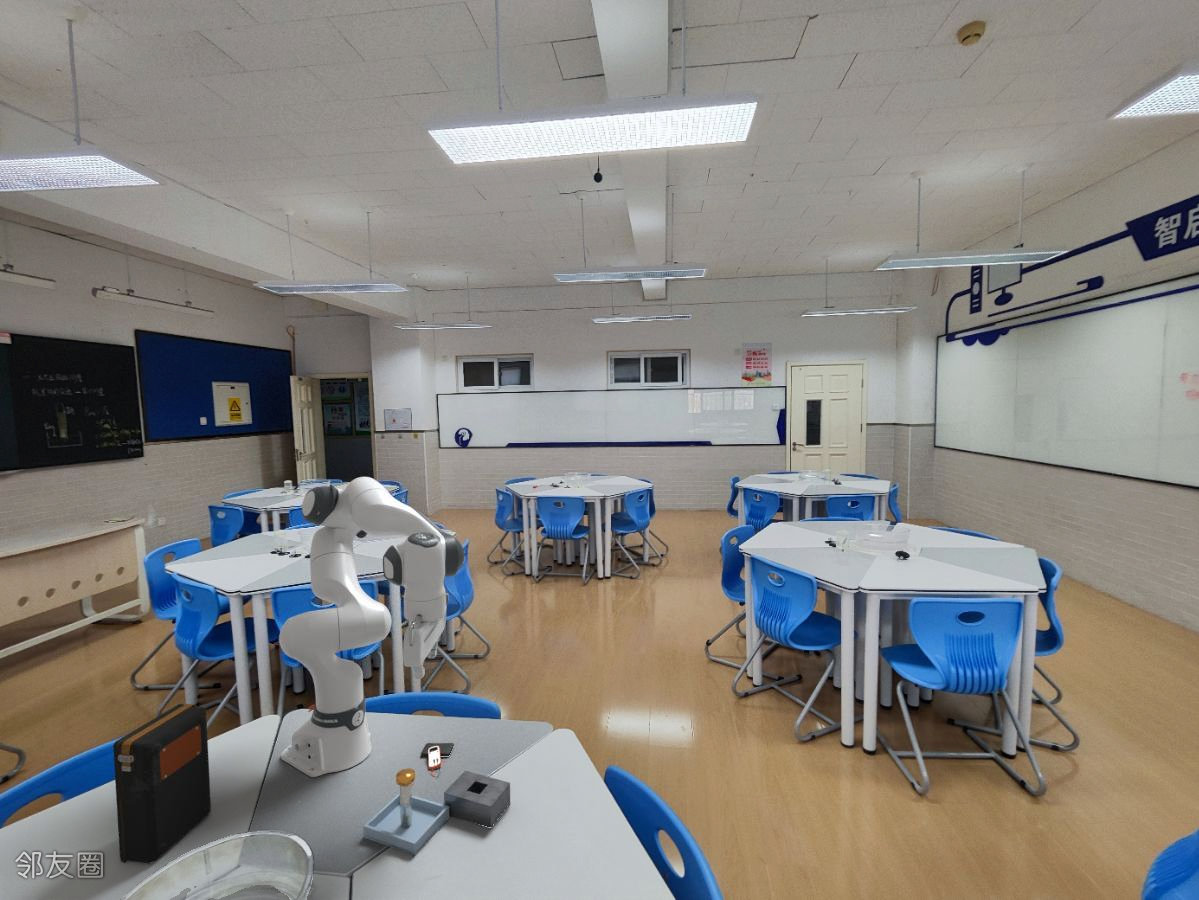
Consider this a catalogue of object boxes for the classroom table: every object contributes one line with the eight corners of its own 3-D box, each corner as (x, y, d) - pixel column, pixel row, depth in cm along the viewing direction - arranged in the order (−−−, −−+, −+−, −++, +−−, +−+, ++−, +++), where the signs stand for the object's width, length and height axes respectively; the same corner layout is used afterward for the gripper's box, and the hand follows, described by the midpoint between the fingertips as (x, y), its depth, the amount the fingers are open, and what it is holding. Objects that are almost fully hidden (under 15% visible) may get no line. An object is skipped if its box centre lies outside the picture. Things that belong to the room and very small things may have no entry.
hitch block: (444, 814, 121) (443, 792, 121) (465, 790, 128) (465, 770, 128) (491, 828, 117) (490, 806, 116) (510, 803, 124) (510, 782, 124)
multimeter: (446, 796, 127) (445, 781, 127) (396, 793, 128) (396, 779, 128) (471, 749, 145) (471, 737, 145) (427, 747, 146) (427, 735, 146)
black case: (183, 808, 123) (177, 700, 121) (217, 811, 122) (212, 703, 120) (113, 865, 107) (105, 742, 106) (152, 869, 106) (145, 745, 105)
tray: (363, 837, 114) (363, 826, 114) (401, 802, 125) (400, 791, 125) (414, 855, 110) (414, 843, 109) (449, 817, 120) (449, 806, 120)
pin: (395, 822, 118) (394, 772, 117) (413, 815, 120) (412, 766, 119) (399, 833, 114) (398, 782, 114) (418, 826, 117) (417, 775, 116)
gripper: (425, 626, 111) (426, 691, 113) (450, 591, 132) (451, 646, 133) (394, 626, 111) (395, 691, 112) (424, 591, 132) (425, 646, 133)
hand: (426, 666), depth 123 cm, fingers open, 8 cm apart
